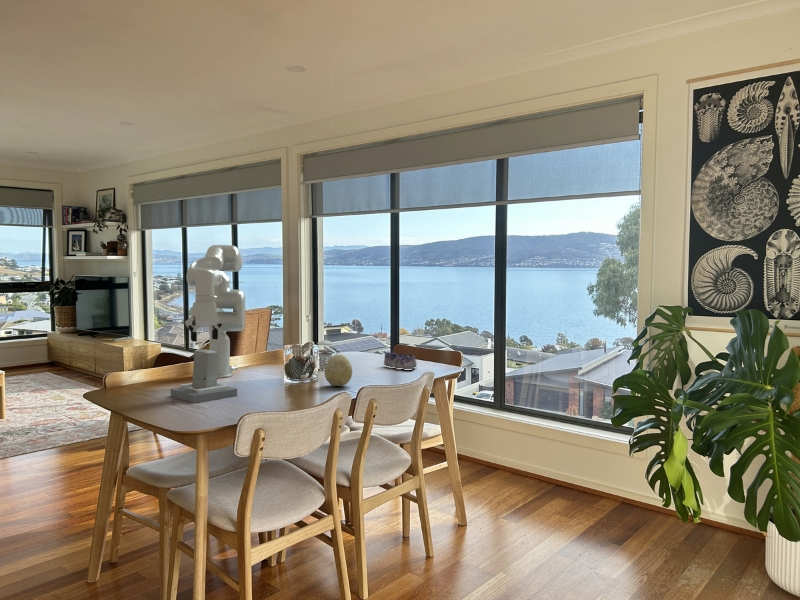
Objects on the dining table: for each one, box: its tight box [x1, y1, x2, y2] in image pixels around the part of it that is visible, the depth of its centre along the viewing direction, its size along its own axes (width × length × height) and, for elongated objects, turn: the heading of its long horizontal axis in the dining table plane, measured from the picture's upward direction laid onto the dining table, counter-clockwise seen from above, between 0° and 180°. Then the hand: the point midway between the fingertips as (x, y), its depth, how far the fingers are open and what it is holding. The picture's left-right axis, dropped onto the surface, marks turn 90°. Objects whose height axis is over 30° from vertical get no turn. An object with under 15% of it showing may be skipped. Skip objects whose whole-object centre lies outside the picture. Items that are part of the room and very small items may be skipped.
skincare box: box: [191, 349, 219, 389], centre depth 258 cm, size 8×7×16 cm
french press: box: [317, 321, 338, 369], centre depth 331 cm, size 10×12×25 cm
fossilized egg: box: [324, 353, 353, 387], centre depth 284 cm, size 13×13×15 cm
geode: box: [383, 350, 417, 370], centre depth 338 cm, size 20×12×10 cm, turn 60°
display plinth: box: [170, 382, 238, 404], centre depth 258 cm, size 20×18×4 cm
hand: (204, 340), depth 257 cm, fingers open, 9 cm apart
